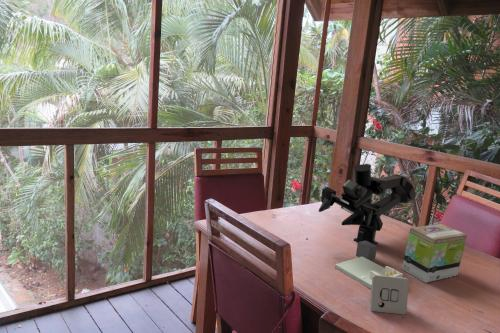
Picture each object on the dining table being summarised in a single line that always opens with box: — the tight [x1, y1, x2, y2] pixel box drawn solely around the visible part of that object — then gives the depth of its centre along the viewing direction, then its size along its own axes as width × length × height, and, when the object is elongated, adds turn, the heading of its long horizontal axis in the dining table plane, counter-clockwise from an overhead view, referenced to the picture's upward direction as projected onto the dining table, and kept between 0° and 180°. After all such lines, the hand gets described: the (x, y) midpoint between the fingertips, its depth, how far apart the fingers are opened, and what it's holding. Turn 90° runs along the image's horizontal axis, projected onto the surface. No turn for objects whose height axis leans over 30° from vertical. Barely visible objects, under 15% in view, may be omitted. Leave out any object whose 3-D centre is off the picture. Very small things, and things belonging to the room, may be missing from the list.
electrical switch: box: [369, 275, 410, 315], centre depth 106 cm, size 9×5×9 cm, turn 86°
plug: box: [355, 241, 378, 262], centre depth 136 cm, size 4×5×5 cm
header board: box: [334, 257, 404, 290], centre depth 124 cm, size 17×13×4 cm
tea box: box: [401, 223, 468, 284], centre depth 128 cm, size 15×10×15 cm, turn 117°
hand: (330, 217), depth 130 cm, fingers open, 9 cm apart
